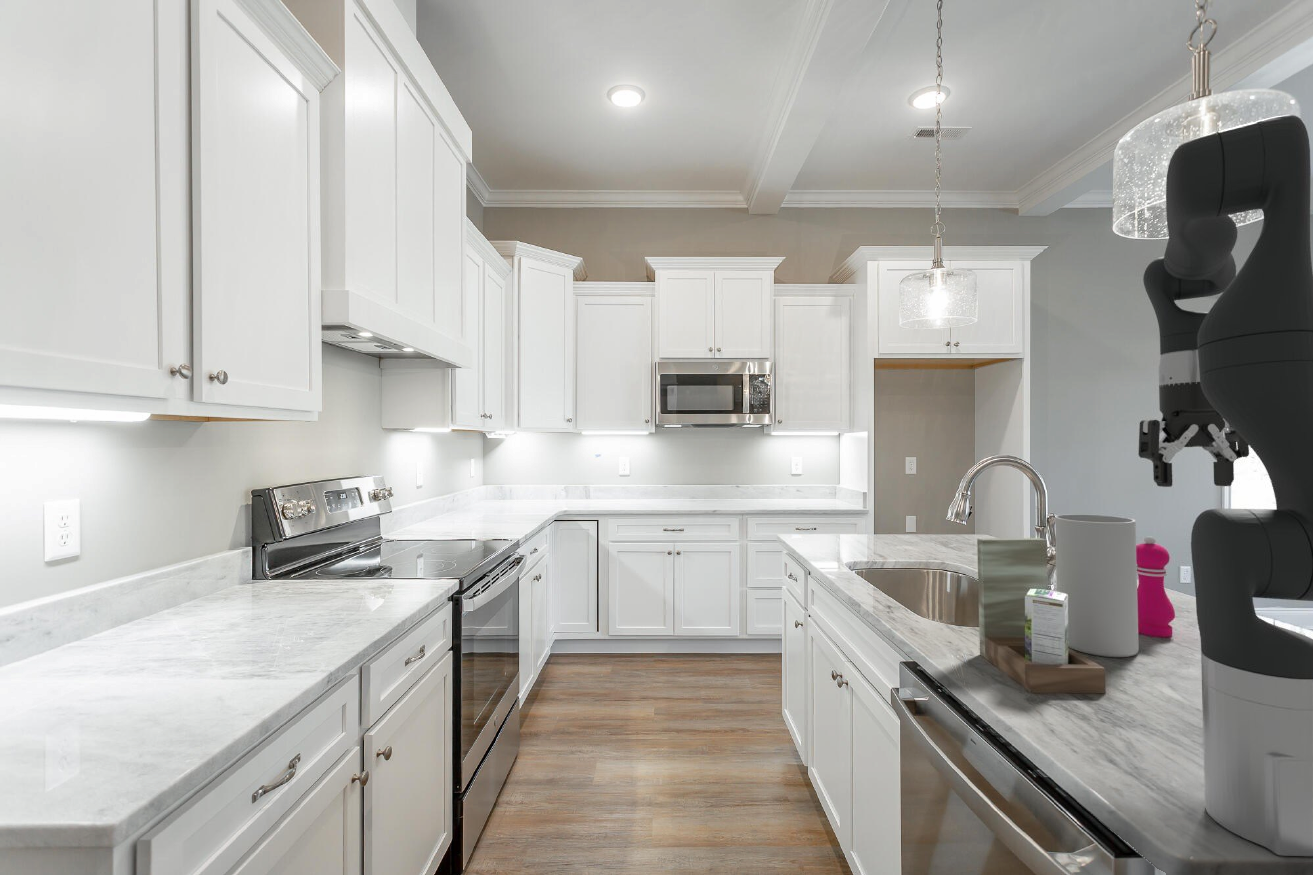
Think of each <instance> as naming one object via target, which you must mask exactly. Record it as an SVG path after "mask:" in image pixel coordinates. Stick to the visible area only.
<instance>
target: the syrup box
mask: <svg viewBox="0 0 1313 875" xmlns="http://www.w3.org/2000/svg"><path fill="white" fill-rule="evenodd" d="M1068 648H1069V647H1068V595H1067V594H1065V593H1061V592H1057V590H1056V591H1054V590H1049V589H1048V590H1043V589H1030V590H1029V591H1028V593H1027V594H1026V596H1025V658H1026V659H1027V660H1029V661H1030V662H1032V663H1033V664H1068Z"/></svg>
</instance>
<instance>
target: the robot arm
mask: <svg viewBox="0 0 1313 875" xmlns="http://www.w3.org/2000/svg"><path fill="white" fill-rule="evenodd" d="M1311 174H1312V173H1311V146H1310V138H1309V134H1308V129H1307V127H1306V125H1305V123H1304V122H1303V120H1302V119H1301V118H1300V117H1299V116H1297V115H1295V114H1284V115H1277V116H1272V117H1269V118H1265V119H1261V120H1256V121H1253V122H1249V123H1245V124H1242V125H1237V126H1234V127H1230V128H1225V129H1221V130H1218V131H1214V132H1211V133H1207V134H1204V135H1201V136H1197V137H1195V138H1191V139H1189V140H1187V141H1185V142H1183V143H1181V144H1180V145H1178V147H1177V148H1176V149H1175V151H1174V152H1173V153H1172V155H1171V157H1170V160H1169V163H1168V166H1167V174H1166V182H1165V183H1166V184H1165V206H1166V207H1165V208H1166V224H1167V231H1168V241H1167V243H1166V244H1167V245H1166V247H1165V252H1164V256H1160V257H1158V258H1155V259H1154V260H1152V261H1151V262H1150V263H1148V265H1147V266H1146V268H1145V271H1144V272H1143V279H1142V280H1143V286H1144V289H1145V292H1146V295H1147V296H1148V299H1149V300H1150V303H1151V305H1152V307H1153V309H1154V313H1155V316H1156V319H1157V322H1158V323H1157V324H1158V330H1159V350H1160V351H1159V354H1160V356H1159V357H1160V358H1159V365H1158V394H1159V395H1158V399H1159V400H1158V401H1159V412H1160V413H1162V417H1161V420H1158V419H1144V420H1140V422H1139V432H1138V433H1139V434H1138V457H1139V458H1140V459H1147V460H1149V461H1151V462H1152V465H1153V466H1152V470H1153V475H1152V476H1153V481H1154V483H1156V485H1157V487H1163V488H1171V487H1173V463H1172V462H1171V461H1172V460H1173V458H1174V457H1175V455H1176V454H1177V453H1178V452H1180V451H1182V450H1183V449H1184V448H1193V447H1194V448H1195V447H1199V448H1200V447H1201V448H1202V449H1203V450H1204V451H1207V452H1208V453H1209V454H1210V455H1211V456H1212V458H1214V459H1215V461H1213V484H1214V485H1215V486H1218V487H1231V486H1232V484H1233V482H1234V480H1235V473H1234V472H1235V470H1234V469H1235V468H1234V466H1235V465H1234V464H1235V463H1234V462H1235V461H1237V460H1239V459H1240V458H1247V457H1248V456H1249V455H1250V449H1252V451H1254V453H1255V454H1256V455H1257V457H1258V458H1259V459H1260V461H1261V463H1262V464H1263V466H1264V468H1265V471H1266V472H1267V475H1268V477H1269V480H1270V483H1271V487H1272V490H1273V495H1274V499H1275V506H1276V509H1268V508H1267V509H1266V508H1265V509H1263V508H1261V509H1260V508H1257V509H1256V508H1211V509H1207V510H1204V511H1202V512H1201V513H1200V514H1199V515H1198V516H1197V517H1196V519H1195V520H1194V523H1193V526H1192V530H1191V533H1190V534H1191V536H1190V541H1191V542H1190V550H1191V552H1190V553H1191V562H1192V564H1191V565H1192V570H1193V579H1194V582H1193V583H1194V592H1195V608H1196V610H1195V611H1196V620H1197V621H1196V622H1197V625H1198V631H1199V636H1200V651H1201V652H1200V662H1201V663H1200V664H1201V700H1202V701H1201V703H1202V704H1201V705H1202V709H1201V710H1202V741H1203V742H1202V745H1203V747H1202V748H1203V749H1202V750H1203V772H1204V773H1203V774H1204V775H1203V777H1204V778H1203V780H1204V806H1205V807H1204V808H1205V811H1206V812H1207V813H1208V815H1209V816H1210V817H1211V819H1213V820H1214V821H1215V822H1216V823H1218V825H1220V826H1222V827H1223V828H1224V829H1226V830H1228V831H1229V832H1232V833H1233V834H1235V835H1237V836H1239V837H1242V838H1243V839H1246V840H1248V841H1250V842H1253V843H1256V845H1260V846H1262V847H1265V848H1267V850H1270V851H1271V852H1273V853H1274V854H1276V855H1278V856H1289V857H1291V856H1293V857H1295V856H1296V857H1313V638H1311V637H1310V636H1307V635H1305V634H1302V633H1299V632H1296V631H1293V630H1292V629H1291V630H1290V629H1287V628H1284V627H1281V626H1278V625H1275V624H1273V623H1270V622H1268V621H1265V620H1264V619H1262V618H1260V617H1259V616H1258V615H1257V613H1256V609H1255V605H1254V599H1253V598H1256V599H1257V598H1258V599H1270V600H1287V601H1289V600H1291V601H1306V602H1313V266H1312V251H1311V249H1312V248H1311V177H1312V176H1311ZM1256 210H1262V213H1263V223H1262V227H1261V230H1260V231H1261V232H1260V233H1259V234H1260V235H1259V237H1258V238H1257V241H1256V243H1255V245H1254V247H1253V248H1252V250H1251V252H1250V254H1249V255H1248V257H1246V258H1247V259H1246V260H1245V261H1244V263H1243V264H1242V266H1241V268H1240V269H1239V271H1238V272H1237V264H1236V261H1235V258H1234V256H1233V254H1232V251H1233V250H1234V248H1235V246H1236V243H1237V241H1238V228H1237V225H1236V222H1235V221H1234V219H1233V218H1232V217H1231V216H1230V215H1233V214H1240V213H1245V212H1250V211H1256ZM1220 294H1221V295H1220ZM1216 295H1220V296H1219V297H1218V298H1217V300H1216V301H1215V302H1214V304H1213V305H1212V307H1211V308H1210V309H1209V311H1194V310H1193V311H1191V310H1186V309H1183V308H1181V307H1179V306H1178V305H1177V303H1176V302H1175V301H1181V300H1190V299H1199V298H1208V297H1213V296H1216ZM1222 432H1224V435H1222V434H1221V433H1222ZM1161 433H1163V434H1164V435H1163V437H1162V438H1161V439H1160V434H1161ZM1249 448H1250V449H1249Z"/></svg>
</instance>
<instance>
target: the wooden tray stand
mask: <svg viewBox="0 0 1313 875" xmlns="http://www.w3.org/2000/svg"><path fill="white" fill-rule="evenodd" d="M976 541H977V542H976V543H977V546H976V548H977V581H978V582H977V584H978V585H977V587H978V625H979V626H978V628H979V629H978V630H979V631H978V632H979V633H978V634H979V655H980V656H981V657H983V658H986V659H985V660H987V661H988V662H990V664H992V665H993V664H994V665H993V666H994V667H996V668H997V669H998V670H1000V671H1001V672H1002V673H1004V674H1005V673H1006V674H1005V675H1007V676H1008V677H1009V678H1011V679H1012V680H1013V681H1014V682H1016V683H1017V684H1019V685H1020V686H1021V687H1022V688H1024V689H1026V690H1027V691H1029V693H1033V694H1034V693H1035V694H1036V693H1039V694H1106V692H1107V691H1106V688H1107V687H1106V686H1107V684H1106V668H1105V667H1104V666H1102V665H1101V664H1098V663H1097V662H1095V661H1093V660H1091V659H1090V658H1087V657H1086V656H1084V655H1082V654H1080V653H1079V652H1078V651H1076V650H1074V649H1071V648H1069V647H1068V664H1033V663H1032V662H1030V661H1029V660H1027V659H1026V658H1025V596H1026V594H1027V593H1028V591H1029V590H1030V589H1043V590H1049V586H1048V585H1049V584H1048V582H1049V581H1048V579H1049V578H1048V546H1047V545H1048V543H1047V542H1048V541H1047V539H1045V538H1041V537H1019V538H1018V537H1014V538H1013V537H1012V538H1011V537H1009V538H1008V537H1006V538H997V537H993V538H989V537H988V538H977V539H976Z"/></svg>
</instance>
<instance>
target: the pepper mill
mask: <svg viewBox="0 0 1313 875" xmlns="http://www.w3.org/2000/svg"><path fill="white" fill-rule="evenodd" d="M1169 562H1170V554H1169V551H1168V550H1167V549H1166V548H1165V547H1163V546H1162V545H1160V544H1156V538H1155V537H1154V536H1151V535H1147V536H1146V537H1144V543H1139V544H1138V545H1137V544H1136V563H1137V579H1138V584H1137V603H1138V634H1140V635H1146V636H1150V637H1155V638H1169V637H1170V638H1171V637H1172V636H1173V626H1172V625H1170V623H1171V622H1172V621H1173V620H1174V619H1175V617H1176V612H1175V607H1174V605H1173V603H1172V602H1171V600H1170V598H1169V597H1168V594H1167V593H1166V589H1165V583H1164V582H1165V577H1166V576H1167V574H1168V573H1167V570H1168V569H1167V568H1165V567H1166V566H1167V565H1168V564H1169Z"/></svg>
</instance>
